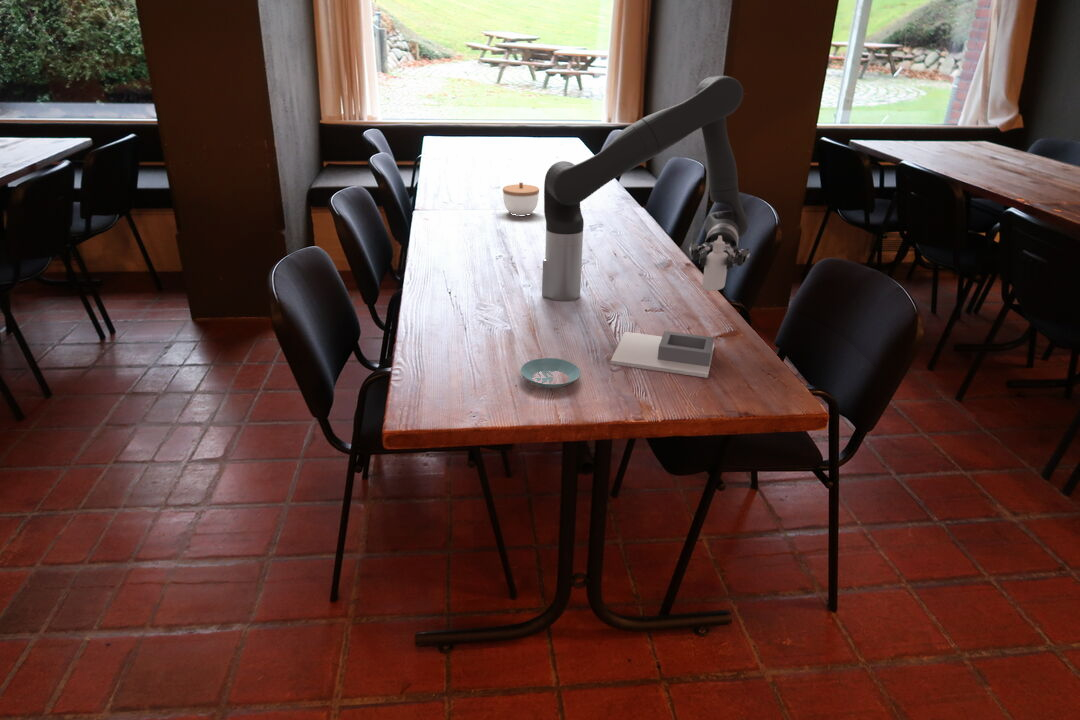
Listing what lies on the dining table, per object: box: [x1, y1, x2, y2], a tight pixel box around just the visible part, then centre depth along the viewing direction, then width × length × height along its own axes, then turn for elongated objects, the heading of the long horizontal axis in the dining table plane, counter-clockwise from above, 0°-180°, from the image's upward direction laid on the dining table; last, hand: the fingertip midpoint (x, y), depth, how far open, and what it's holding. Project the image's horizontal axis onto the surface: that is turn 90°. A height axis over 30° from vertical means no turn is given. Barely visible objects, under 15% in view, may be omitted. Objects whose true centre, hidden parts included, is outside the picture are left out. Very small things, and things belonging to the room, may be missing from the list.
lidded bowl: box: [502, 182, 540, 215], centre depth 264 cm, size 13×13×11 cm
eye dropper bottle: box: [701, 236, 728, 292], centre depth 166 cm, size 4×6×12 cm
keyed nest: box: [610, 330, 715, 379], centre depth 161 cm, size 20×16×4 cm
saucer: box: [520, 357, 581, 389], centre depth 150 cm, size 12×12×2 cm
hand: (716, 263), depth 164 cm, fingers closed on eye dropper bottle, 4 cm apart
